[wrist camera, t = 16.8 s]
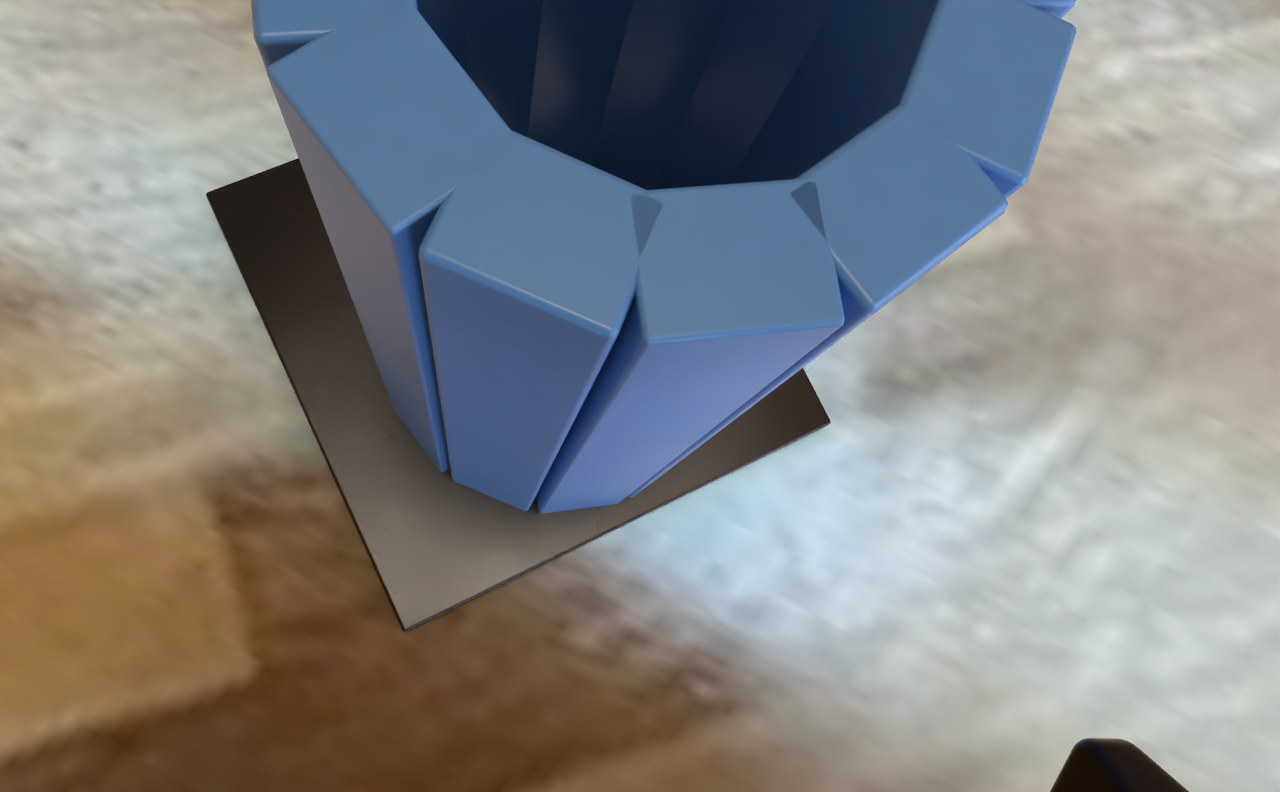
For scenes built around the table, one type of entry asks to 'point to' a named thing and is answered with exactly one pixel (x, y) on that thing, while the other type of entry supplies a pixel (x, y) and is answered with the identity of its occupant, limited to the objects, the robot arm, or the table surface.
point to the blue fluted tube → (640, 201)
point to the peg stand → (391, 456)
